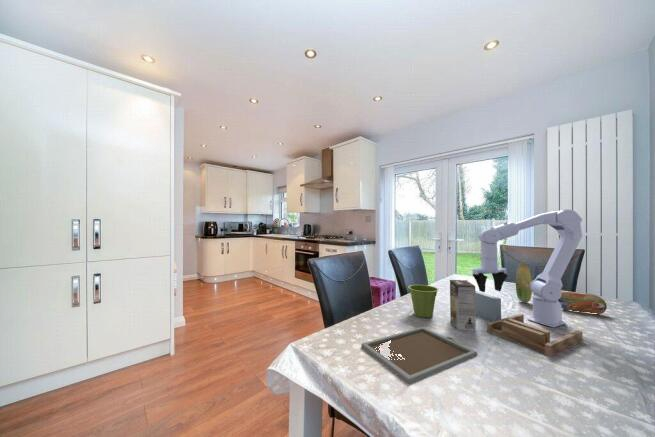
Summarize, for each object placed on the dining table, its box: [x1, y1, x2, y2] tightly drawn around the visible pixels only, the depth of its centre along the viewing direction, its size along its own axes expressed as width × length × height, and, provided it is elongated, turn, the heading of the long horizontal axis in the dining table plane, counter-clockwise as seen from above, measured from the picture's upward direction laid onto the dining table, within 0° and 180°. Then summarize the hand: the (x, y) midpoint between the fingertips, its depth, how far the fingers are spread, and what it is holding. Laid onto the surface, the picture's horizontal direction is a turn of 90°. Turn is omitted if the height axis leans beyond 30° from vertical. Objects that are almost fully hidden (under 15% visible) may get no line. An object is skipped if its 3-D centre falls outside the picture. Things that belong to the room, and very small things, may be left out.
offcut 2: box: [507, 319, 551, 344], centre depth 79 cm, size 2×11×4 cm, turn 25°
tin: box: [558, 291, 608, 315], centre depth 103 cm, size 15×3×8 cm, turn 58°
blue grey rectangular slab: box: [475, 290, 502, 322], centre depth 98 cm, size 2×12×9 cm, turn 13°
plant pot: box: [407, 284, 439, 318], centre depth 99 cm, size 12×12×11 cm
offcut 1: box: [501, 321, 545, 347], centre depth 77 cm, size 2×11×4 cm, turn 26°
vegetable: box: [515, 261, 533, 304], centre depth 115 cm, size 6×6×20 cm
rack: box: [486, 313, 584, 357], centre depth 80 cm, size 22×17×3 cm
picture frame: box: [360, 326, 478, 385], centre depth 71 cm, size 19×2×30 cm
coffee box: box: [449, 279, 477, 332], centre depth 89 cm, size 9×6×16 cm
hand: (490, 291), depth 98 cm, fingers open, 7 cm apart
